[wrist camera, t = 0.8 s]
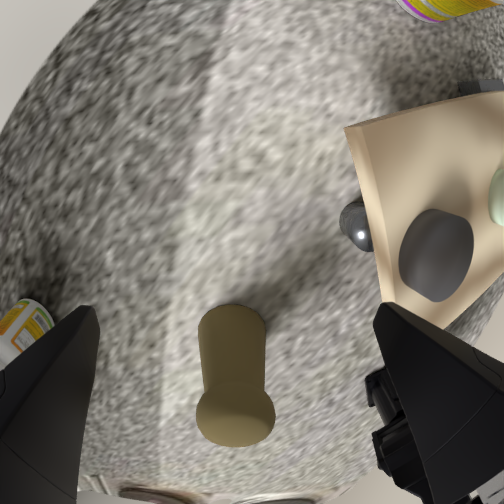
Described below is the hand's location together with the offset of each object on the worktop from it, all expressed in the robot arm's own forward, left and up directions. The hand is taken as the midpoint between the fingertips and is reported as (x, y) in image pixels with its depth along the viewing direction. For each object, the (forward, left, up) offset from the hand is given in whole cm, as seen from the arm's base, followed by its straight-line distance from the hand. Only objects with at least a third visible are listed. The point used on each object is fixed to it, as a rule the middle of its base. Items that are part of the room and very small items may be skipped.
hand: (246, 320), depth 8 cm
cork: (-11, +5, -14) cm, 18 cm away
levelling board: (-5, -16, -9) cm, 19 cm away
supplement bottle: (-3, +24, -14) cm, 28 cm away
